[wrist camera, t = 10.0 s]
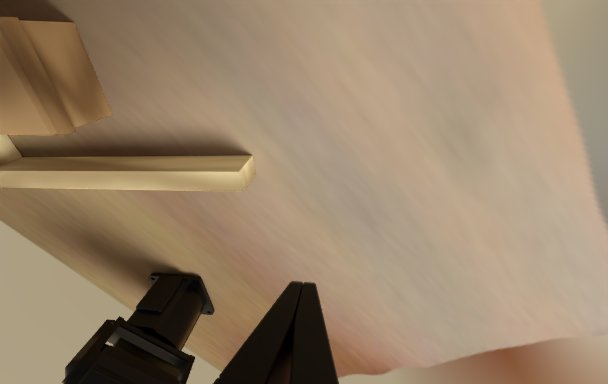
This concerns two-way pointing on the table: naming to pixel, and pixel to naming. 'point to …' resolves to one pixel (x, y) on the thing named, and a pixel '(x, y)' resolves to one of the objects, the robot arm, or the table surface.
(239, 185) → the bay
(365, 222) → the table surface
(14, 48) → the box
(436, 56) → the table surface
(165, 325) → the robot arm
